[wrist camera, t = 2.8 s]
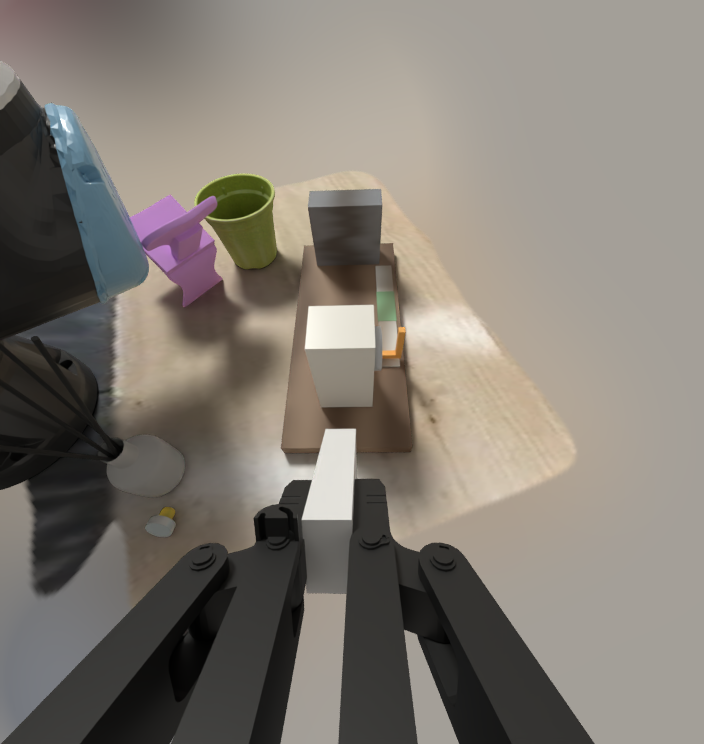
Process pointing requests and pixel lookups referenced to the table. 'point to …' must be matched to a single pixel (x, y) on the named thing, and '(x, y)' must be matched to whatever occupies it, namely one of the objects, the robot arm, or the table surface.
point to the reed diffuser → (113, 449)
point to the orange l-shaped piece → (399, 346)
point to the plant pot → (243, 217)
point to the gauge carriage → (343, 354)
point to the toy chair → (180, 244)
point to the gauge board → (348, 287)
